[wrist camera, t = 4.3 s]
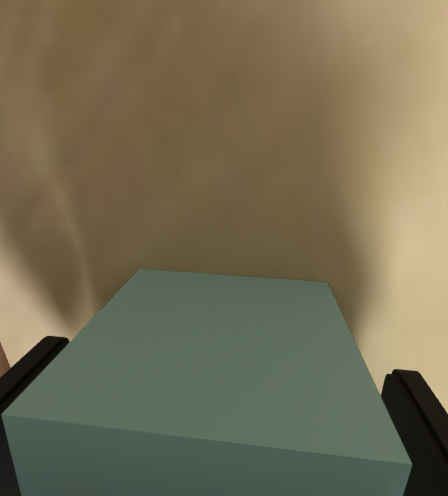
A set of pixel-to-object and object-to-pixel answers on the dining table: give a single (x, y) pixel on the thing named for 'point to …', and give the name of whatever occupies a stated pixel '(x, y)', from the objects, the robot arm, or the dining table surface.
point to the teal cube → (208, 398)
